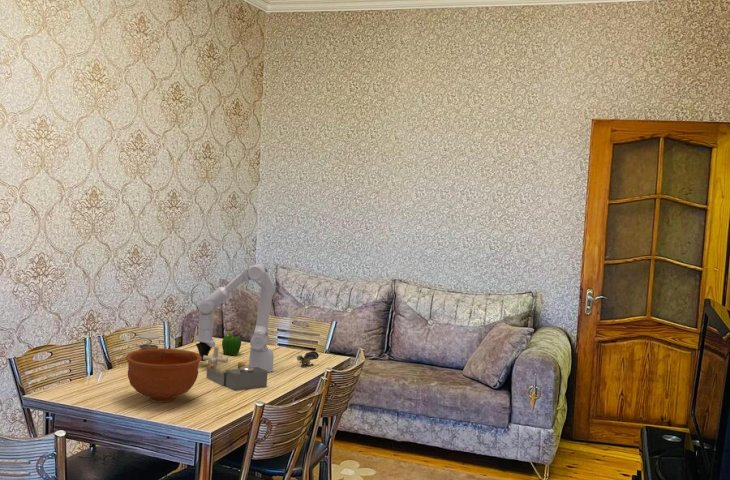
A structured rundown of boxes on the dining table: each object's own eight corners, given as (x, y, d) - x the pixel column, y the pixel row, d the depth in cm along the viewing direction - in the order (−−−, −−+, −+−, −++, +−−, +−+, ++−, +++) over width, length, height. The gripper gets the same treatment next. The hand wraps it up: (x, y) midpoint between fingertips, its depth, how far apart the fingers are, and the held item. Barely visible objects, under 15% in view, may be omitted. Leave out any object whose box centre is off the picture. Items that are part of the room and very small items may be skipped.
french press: (134, 367, 282) (138, 305, 281) (164, 368, 285) (168, 306, 284) (134, 373, 272) (138, 309, 271) (165, 374, 276) (169, 310, 275)
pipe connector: (221, 375, 280) (223, 350, 280) (197, 372, 282) (199, 347, 282) (231, 370, 290) (232, 346, 290) (208, 367, 292) (209, 343, 292)
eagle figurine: (313, 367, 303) (322, 359, 311) (305, 352, 303) (314, 345, 312) (300, 373, 307) (309, 366, 315) (291, 359, 307) (301, 352, 315)
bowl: (210, 395, 252) (213, 353, 251) (176, 413, 227) (180, 367, 227) (147, 386, 257) (150, 345, 256) (107, 403, 233) (110, 357, 232)
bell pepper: (243, 353, 323) (244, 332, 323) (235, 357, 315) (237, 334, 315) (226, 351, 325) (227, 330, 325) (218, 354, 317) (220, 332, 317)
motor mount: (240, 374, 285) (241, 356, 285) (267, 386, 270) (269, 368, 269) (206, 377, 276) (207, 359, 275) (232, 390, 260) (234, 371, 260)
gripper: (188, 325, 296) (186, 357, 297) (205, 331, 285) (202, 365, 286) (204, 324, 301) (201, 356, 301) (220, 331, 289) (218, 364, 290)
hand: (203, 360), depth 294 cm, fingers closed
